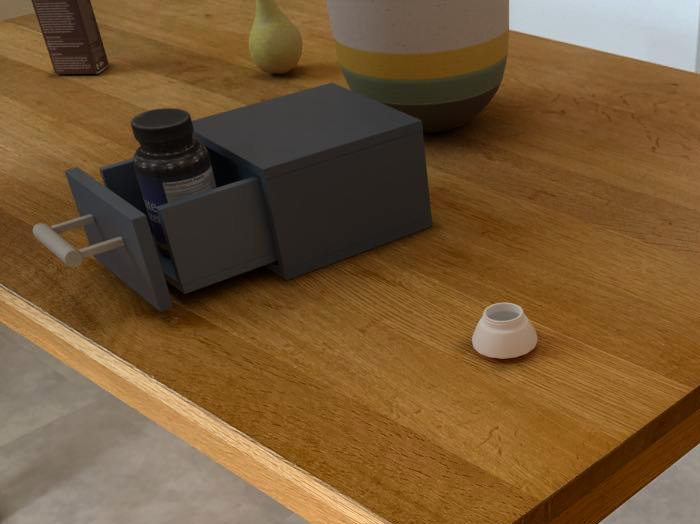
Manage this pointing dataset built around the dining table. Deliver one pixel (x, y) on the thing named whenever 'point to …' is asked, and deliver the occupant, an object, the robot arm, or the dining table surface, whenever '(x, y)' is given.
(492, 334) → the lidless jar
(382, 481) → the dining table surface
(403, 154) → the cabinet
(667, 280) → the dining table surface
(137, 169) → the pill bottle
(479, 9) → the planter
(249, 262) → the drawer
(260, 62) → the fruit
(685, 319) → the dining table surface
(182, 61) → the dining table surface
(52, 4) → the box
